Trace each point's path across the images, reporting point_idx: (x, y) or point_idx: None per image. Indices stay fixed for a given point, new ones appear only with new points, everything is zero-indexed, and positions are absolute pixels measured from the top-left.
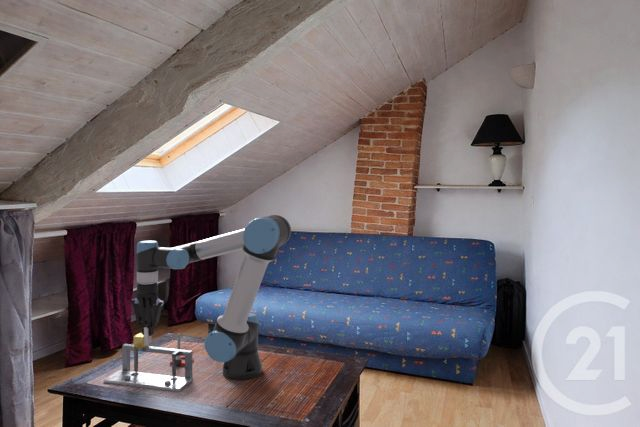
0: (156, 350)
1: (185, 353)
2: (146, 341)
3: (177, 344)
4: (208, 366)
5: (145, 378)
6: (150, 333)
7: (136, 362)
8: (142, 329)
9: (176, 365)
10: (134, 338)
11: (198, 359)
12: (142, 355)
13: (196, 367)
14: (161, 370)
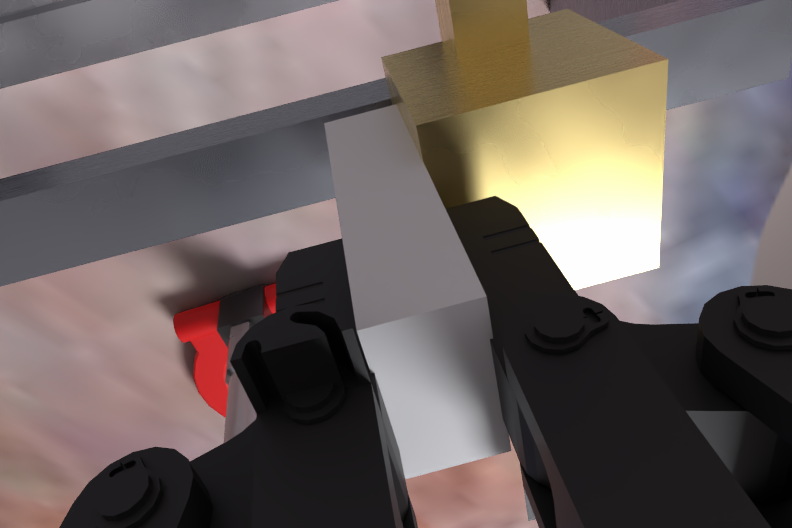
0: (177, 146)
1: None
2: (353, 141)
3: None
4: (27, 396)
5: None
6: (301, 281)
7: None
8: (547, 267)
9: (252, 288)
10: (620, 54)
11: (211, 432)
12: (648, 287)
13: (88, 343)
14: None
